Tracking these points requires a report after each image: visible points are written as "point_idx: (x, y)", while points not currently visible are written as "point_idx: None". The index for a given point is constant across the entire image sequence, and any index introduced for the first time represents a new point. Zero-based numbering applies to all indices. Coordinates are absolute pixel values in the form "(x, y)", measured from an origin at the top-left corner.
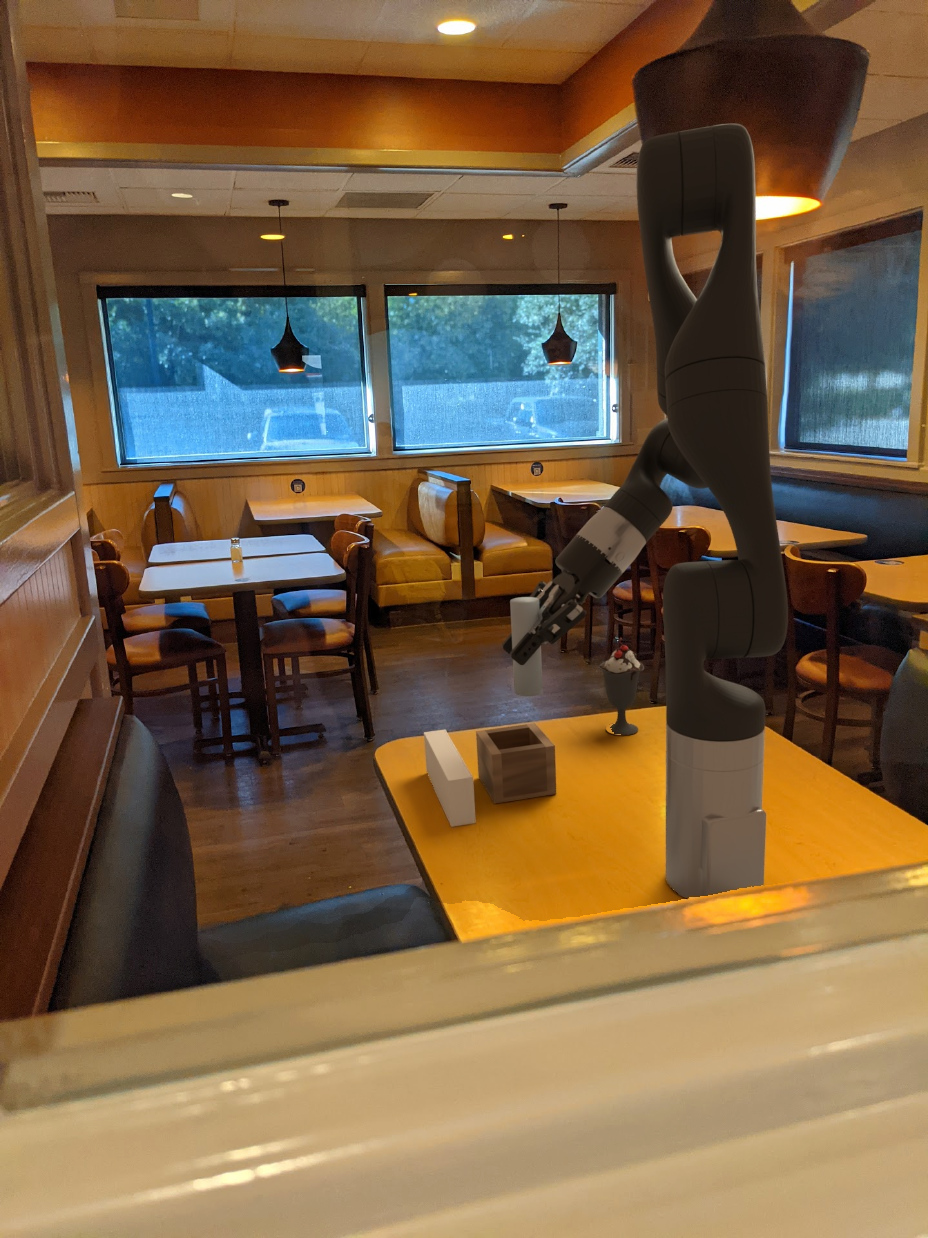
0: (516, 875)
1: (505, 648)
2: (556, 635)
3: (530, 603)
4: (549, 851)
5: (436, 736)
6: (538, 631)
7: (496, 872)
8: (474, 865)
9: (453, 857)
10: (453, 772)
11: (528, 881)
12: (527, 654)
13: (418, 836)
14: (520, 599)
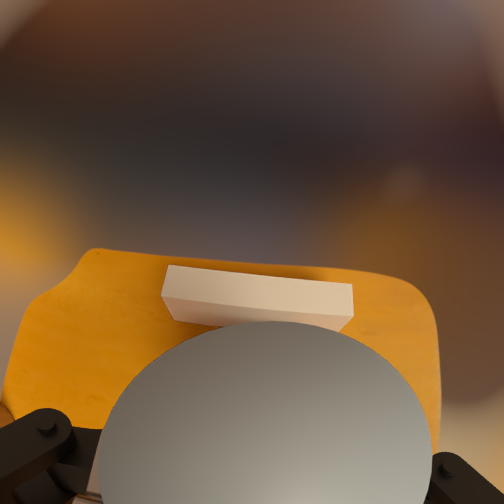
0: (70, 311)
1: None
2: (44, 479)
3: (98, 467)
4: (83, 360)
5: (329, 296)
6: (49, 411)
7: (83, 298)
8: (103, 286)
9: (125, 275)
10: (188, 278)
11: (58, 315)
12: None
13: (180, 259)
14: (342, 456)
